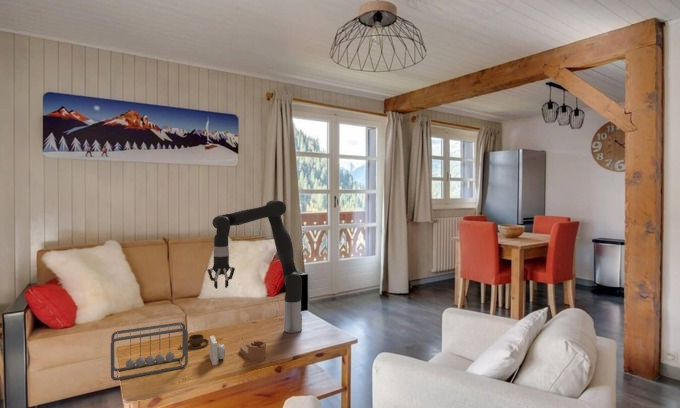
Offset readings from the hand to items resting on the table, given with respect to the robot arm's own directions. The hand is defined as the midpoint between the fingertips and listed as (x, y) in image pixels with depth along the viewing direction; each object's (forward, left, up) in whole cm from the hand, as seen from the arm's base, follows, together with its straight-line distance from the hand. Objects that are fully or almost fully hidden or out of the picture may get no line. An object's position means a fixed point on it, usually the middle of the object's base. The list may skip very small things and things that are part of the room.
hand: (221, 287), depth 204 cm
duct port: (+5, +19, -29) cm, 35 cm away
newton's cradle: (+33, +17, -30) cm, 47 cm away
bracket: (-12, +19, -30) cm, 37 cm away
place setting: (+12, 0, -30) cm, 32 cm away
